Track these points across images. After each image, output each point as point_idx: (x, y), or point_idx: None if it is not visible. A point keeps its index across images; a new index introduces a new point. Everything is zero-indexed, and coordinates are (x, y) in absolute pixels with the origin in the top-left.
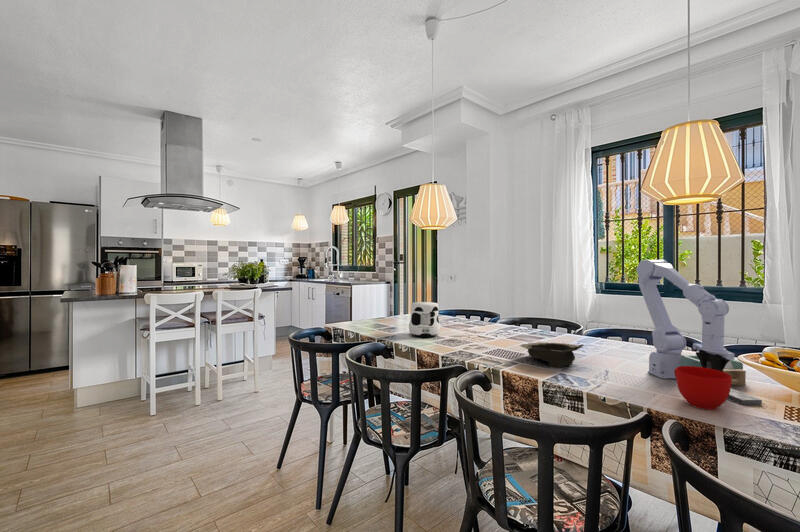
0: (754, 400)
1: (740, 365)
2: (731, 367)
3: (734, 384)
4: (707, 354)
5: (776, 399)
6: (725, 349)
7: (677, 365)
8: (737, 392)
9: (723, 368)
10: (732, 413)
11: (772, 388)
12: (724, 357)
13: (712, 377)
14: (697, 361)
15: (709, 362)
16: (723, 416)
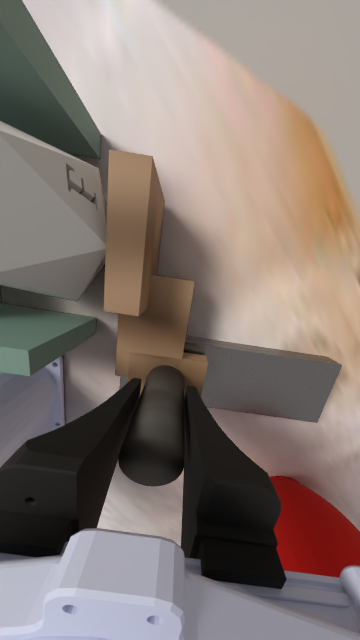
0: (330, 387)
1: (28, 40)
2: (65, 177)
3: (158, 254)
4: (85, 522)
5: (312, 243)
6: (187, 613)
7: (15, 422)
8: (262, 370)
9: (213, 421)
10: (334, 478)
11: (206, 74)
12: (297, 591)
13: (314, 573)
14: (3, 369)
15: (158, 483)
16: (337, 506)
